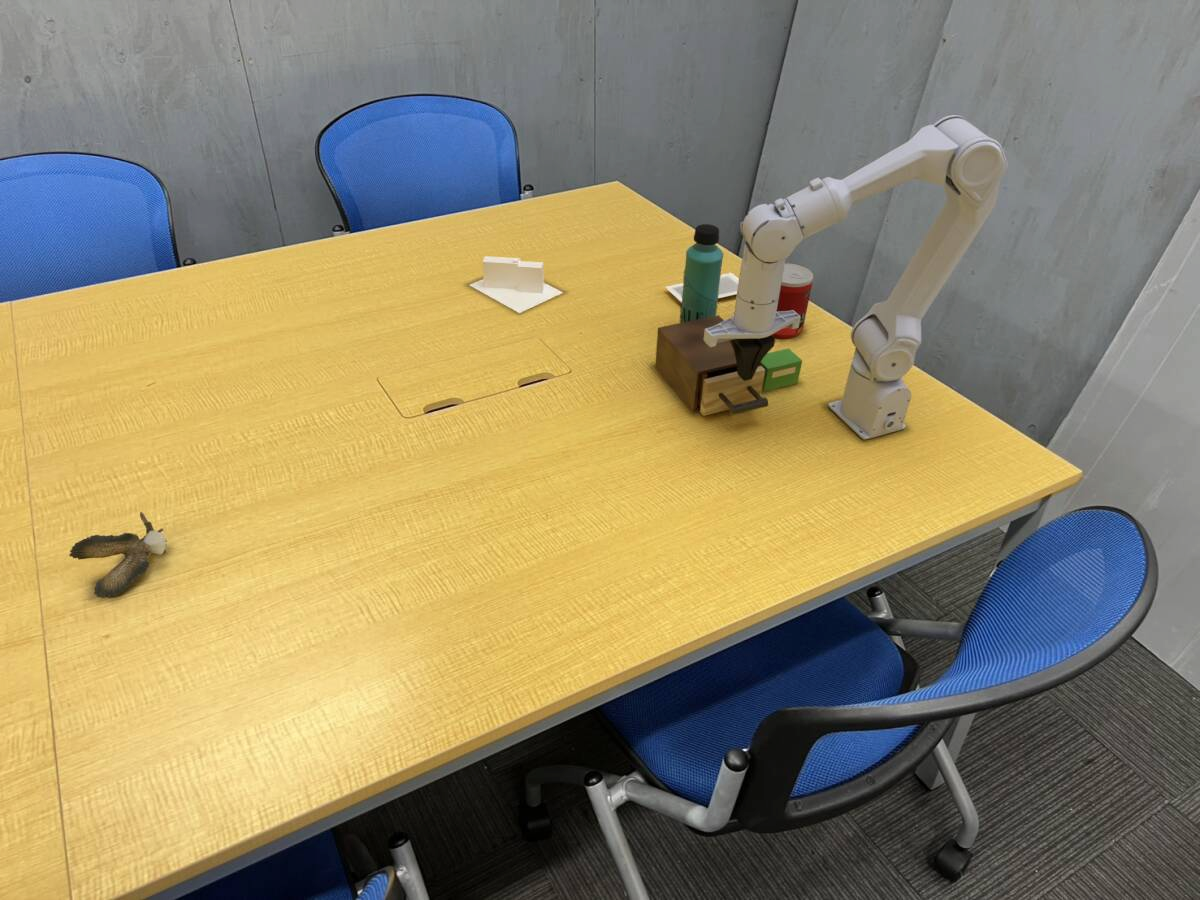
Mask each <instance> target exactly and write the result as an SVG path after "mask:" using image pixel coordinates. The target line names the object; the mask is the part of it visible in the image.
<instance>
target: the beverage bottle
mask: <svg viewBox="0 0 1200 900" xmlns="http://www.w3.org/2000/svg"><path fill="white" fill-rule="evenodd" d="M693 242H695V243H694V244H691V246H689V247H688V248H687V249H686V252H685V264H684V270H683V279H682V283H683V284H684V285H683V286H682V287H683V291H682V292H683V296H682V302H681V303H680V308H679V311H680V312H679V320H678V321H679V323H683V322H688V321H693V320H697V319H702V318H707V317H712V316H717V315H718V313H717V311H718V304H719V302H718V301H719V298H718V293H719V292H718V291H719V283H720V275H722V274H721V273H722V266H723V259H724V252H723V251H722V249H721V248H720V247H719V246H718V245H717V244H718V243H719V242H720V229H719V227H718V226H716V225H713V224H709V223H704V224H699V225H697V226H696V227H695V229H694V234H693Z"/></svg>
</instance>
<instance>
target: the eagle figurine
mask: <svg viewBox="0 0 1200 900" xmlns="http://www.w3.org/2000/svg"><path fill="white" fill-rule="evenodd" d="M139 516H140V520H141V522H142V523H143V526H145V535H144V536H143V537H142V538H140V536H139V535H137V534H136V533H131V532H123V533H121V534H119V535H113V534H110V535H104V534H103V535H99V534H94V535H90V536H87V537H86V538H83V539H81V540H79V541H78V542H75V543H74V545H73V546H71V549H70V550H69V552H70V553H69V555H68V556H69V557H72V559H78V560H87V559H104V558H109V557H113V556H117V555H121V559H122V560H121V561H119V563H118V564H117V565H115V566H114V567H113V568H112V569H111V570H110V571H108V572H107V574H106V575H104V576H102V577H100V578H99V579H98V580H96V582H95V586H94V591H93V593H94V595H95V596H96V597H101V598H105V597H108V598H111V597H116V596H118V595H120V594H122V593H123V592H124V591H126V590H127V589H128V587H129V586H130V585H131V584H133V581H135V580H136V579H138V578H139V576H143V574H145V573H146V572H147V571H148V568H149V567H150V561H149V560H150V559H149V557H150V556H149V555H150V554H153V555H154V554H155V555H158V556H161V555H163V554H164V553H165V554H166V547H167V542H168V540H167V539H166V537H165V535H164V534H163V533H162V532H163V531H164V528H162V527H161V528H160V529H158V530H155V529H154V526H153V524H152V522H151V521H149V520H148V519H147V518H146V516H145V513H143V511H140V512H139Z"/></svg>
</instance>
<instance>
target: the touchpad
mask: <svg viewBox="0 0 1200 900" xmlns="http://www.w3.org/2000/svg"><path fill="white" fill-rule="evenodd" d="M683 283H684V282H681V283H676V284H672V285H667V286H665V287H664V288H665V289H666V290H667V291H669V293H671V294H672V295H673V296H674V297H675V298H676V299H677V300H678V301H679V302H680V303H682V296H683V292H682V291H683V287H682V286H683V285H684V284H683ZM738 283H739V277H737V276H736V275H735V274H734V273H733V272H727V273H723V274H721V275H720V283H719V291H718V292H719V293H718V299H722V298H725V297H730V296H731V297H732V296H734V295H735V296H736V295H737V290H738Z"/></svg>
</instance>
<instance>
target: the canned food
mask: <svg viewBox="0 0 1200 900" xmlns="http://www.w3.org/2000/svg"><path fill="white" fill-rule="evenodd" d="M813 282H814V274H813V272H812V271H811V270H810V269H808V268H807V267H805V266H802V265H799V264H795V263H786V262H785V264H784V272H783V277H782V283H781V288H780V294H779V300H778V305H777V311H791V310H794V311H795V312H796V313H797V314H798V315H800V316H801V318H800V323H799V328H796V329H792V328H790V327H788V328H783V329H781V330H779V331H777V332H775V333H774V334H772V335H771V336H772V337H773V338H775V339H776V338H777V339H792V338H795V337H797V336H799V335H800V334H801V333H802V331H803V329H804V326H805V321H806V315H807V312H808V306H809V303H810V296H811V293H812V287H813Z"/></svg>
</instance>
